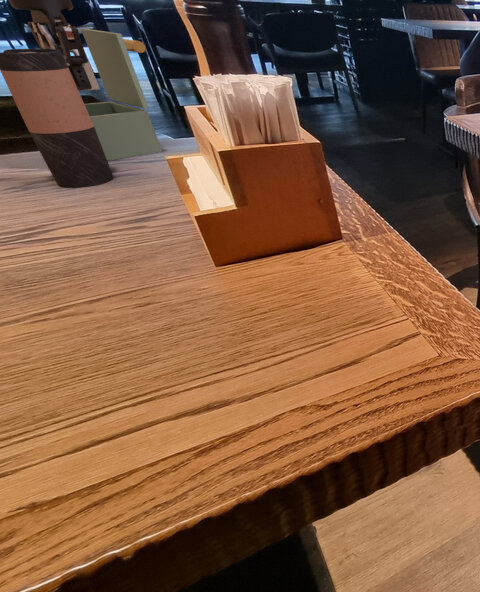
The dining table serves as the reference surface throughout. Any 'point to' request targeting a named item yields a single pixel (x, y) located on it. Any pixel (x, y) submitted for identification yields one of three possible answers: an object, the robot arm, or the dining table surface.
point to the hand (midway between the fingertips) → (78, 87)
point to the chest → (123, 130)
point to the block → (90, 77)
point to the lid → (116, 65)
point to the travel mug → (55, 116)
